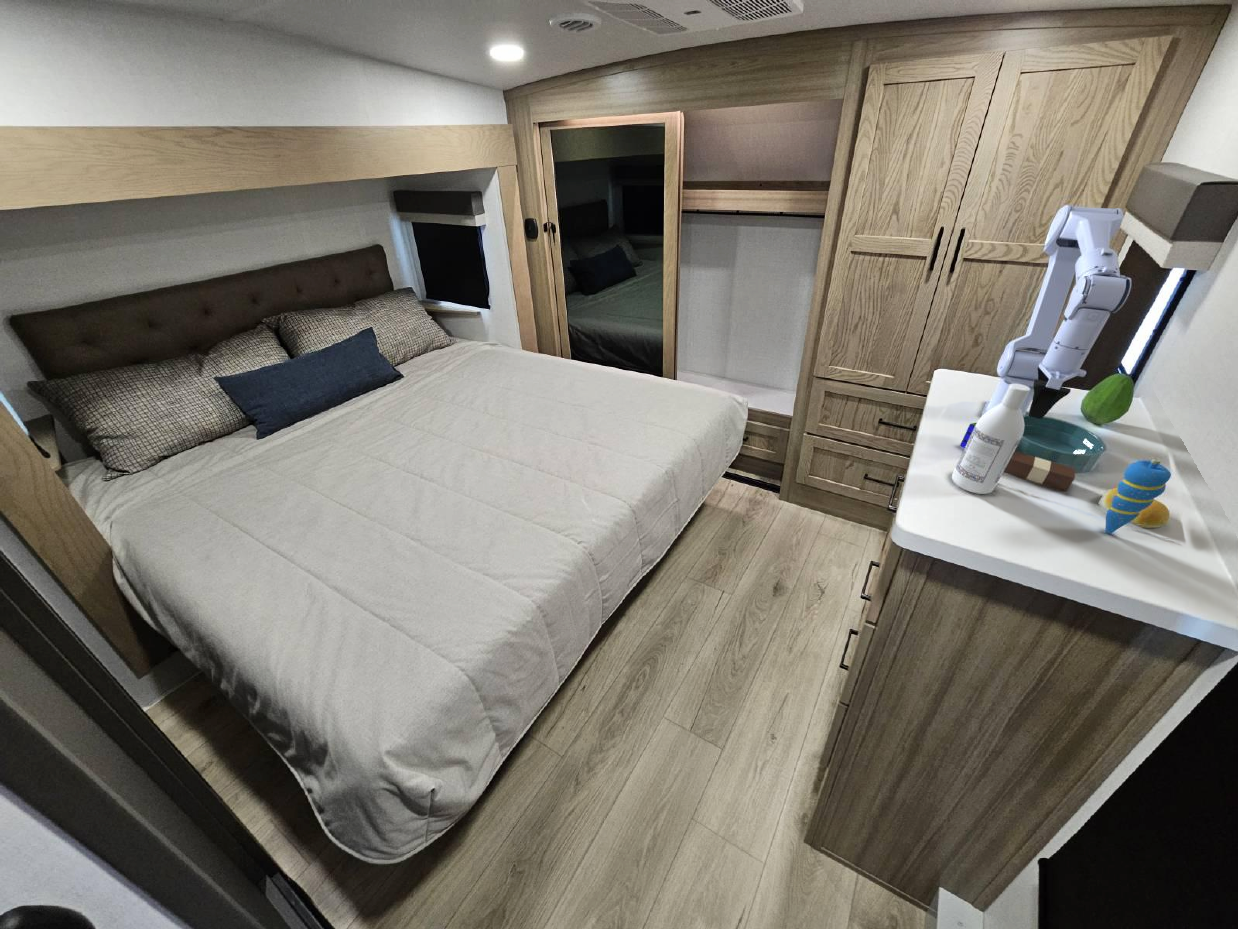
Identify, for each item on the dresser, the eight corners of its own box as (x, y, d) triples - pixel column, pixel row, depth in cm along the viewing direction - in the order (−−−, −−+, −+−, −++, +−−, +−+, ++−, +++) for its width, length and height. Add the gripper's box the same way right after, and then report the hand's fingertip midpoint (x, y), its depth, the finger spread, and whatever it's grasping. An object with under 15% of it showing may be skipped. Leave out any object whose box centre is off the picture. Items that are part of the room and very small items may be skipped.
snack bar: (1002, 473, 99) (1009, 458, 97) (1004, 464, 102) (1012, 449, 100) (1065, 493, 94) (1074, 478, 92) (1066, 483, 97) (1075, 468, 95)
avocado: (1097, 432, 114) (1128, 382, 107) (1065, 415, 120) (1092, 367, 114) (1125, 428, 116) (1157, 379, 109) (1091, 412, 122) (1120, 365, 115)
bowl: (1004, 425, 116) (1013, 407, 113) (1094, 450, 107) (1106, 431, 105) (994, 454, 105) (1004, 436, 103) (1093, 485, 97) (1106, 465, 94)
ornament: (1114, 546, 83) (1172, 469, 74) (1080, 526, 87) (1131, 452, 78) (1132, 538, 84) (1191, 462, 76) (1098, 519, 88) (1150, 445, 80)
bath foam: (979, 473, 99) (1027, 378, 88) (1001, 495, 93) (1055, 396, 82) (943, 473, 99) (987, 377, 88) (963, 494, 93) (1012, 395, 82)
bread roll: (1158, 537, 85) (1174, 518, 82) (1092, 510, 90) (1105, 492, 88) (1167, 516, 89) (1182, 498, 87) (1103, 492, 95) (1115, 475, 93)
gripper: (1099, 361, 87) (1059, 430, 95) (1099, 338, 97) (1063, 403, 104) (1049, 351, 91) (1014, 418, 98) (1054, 330, 100) (1022, 393, 108)
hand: (1036, 410), depth 102 cm, fingers open, 7 cm apart
